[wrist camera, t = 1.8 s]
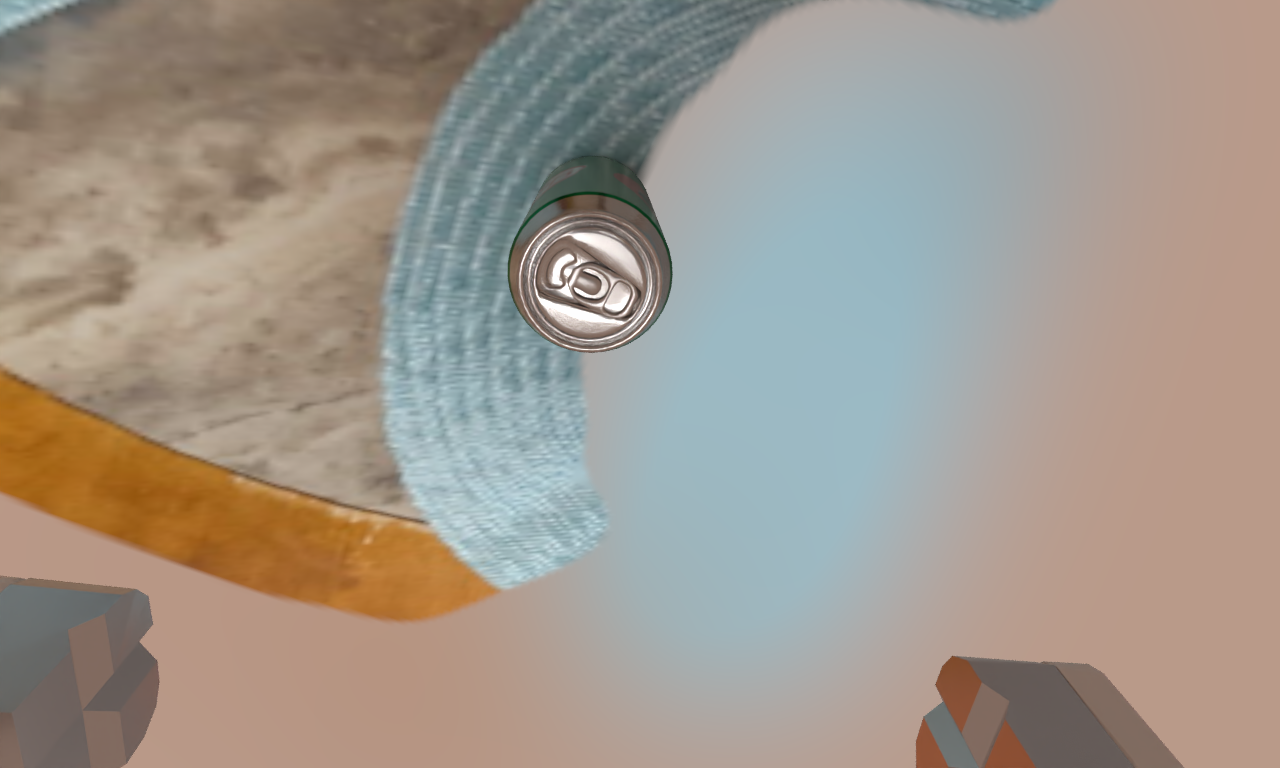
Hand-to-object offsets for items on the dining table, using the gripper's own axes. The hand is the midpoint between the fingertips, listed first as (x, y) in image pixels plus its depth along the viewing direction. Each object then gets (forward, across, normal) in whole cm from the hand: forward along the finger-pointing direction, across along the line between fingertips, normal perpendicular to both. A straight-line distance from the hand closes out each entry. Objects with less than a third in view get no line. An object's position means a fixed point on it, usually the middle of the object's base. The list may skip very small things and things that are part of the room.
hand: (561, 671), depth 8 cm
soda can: (+28, 0, 0) cm, 28 cm away
